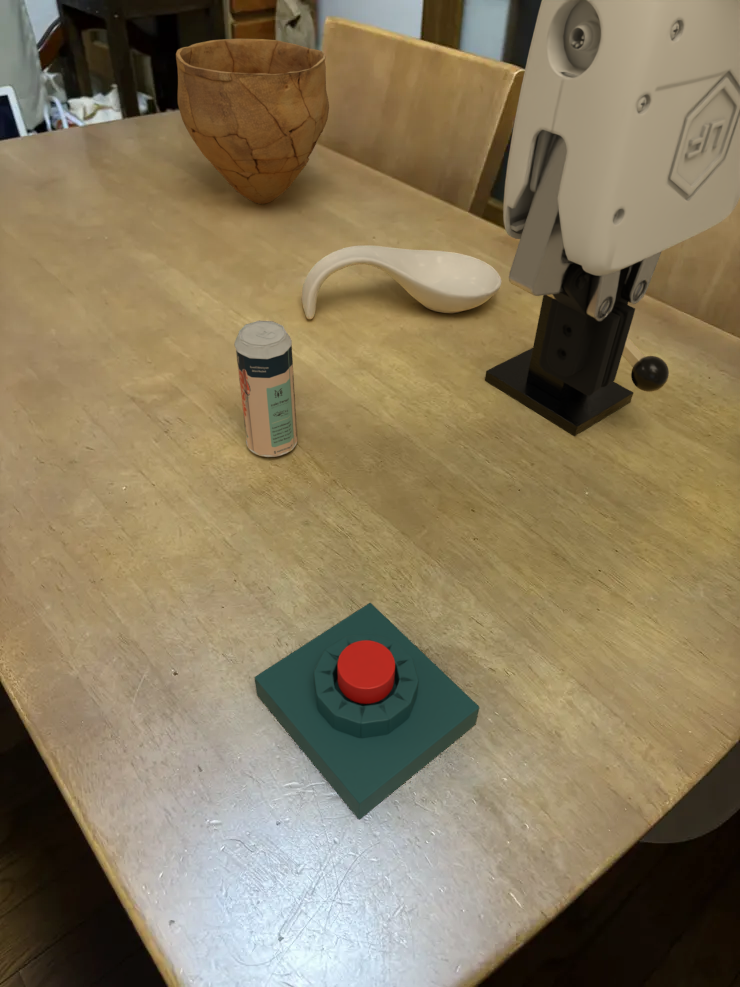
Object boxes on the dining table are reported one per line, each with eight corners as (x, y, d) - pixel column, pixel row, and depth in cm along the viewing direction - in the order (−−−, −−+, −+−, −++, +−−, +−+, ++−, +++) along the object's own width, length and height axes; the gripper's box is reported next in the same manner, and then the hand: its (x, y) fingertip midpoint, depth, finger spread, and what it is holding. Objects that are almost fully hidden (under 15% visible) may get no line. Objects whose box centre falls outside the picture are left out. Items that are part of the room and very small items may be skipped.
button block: (476, 724, 50) (483, 691, 47) (359, 820, 45) (359, 789, 42) (369, 620, 56) (370, 585, 53) (256, 695, 51) (251, 660, 48)
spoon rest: (479, 275, 96) (486, 220, 91) (511, 321, 88) (521, 263, 83) (296, 290, 92) (293, 234, 87) (311, 340, 84) (309, 281, 79)
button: (405, 683, 48) (407, 667, 47) (362, 715, 46) (362, 699, 45) (369, 646, 50) (370, 630, 49) (326, 675, 48) (325, 660, 47)
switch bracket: (630, 402, 77) (667, 287, 68) (574, 436, 72) (605, 318, 64) (540, 351, 83) (563, 240, 75) (484, 380, 79) (501, 266, 70)
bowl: (207, 174, 120) (190, 29, 106) (334, 178, 119) (333, 34, 106) (178, 229, 104) (153, 68, 91) (323, 234, 104) (320, 74, 91)
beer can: (261, 424, 73) (250, 313, 65) (306, 436, 72) (300, 324, 63) (237, 453, 69) (222, 340, 61) (283, 466, 68) (275, 353, 60)
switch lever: (661, 390, 70) (682, 370, 67) (640, 403, 68) (662, 383, 66) (571, 290, 73) (588, 266, 70) (550, 300, 71) (566, 276, 69)
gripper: (662, -108, 17) (529, 485, 30) (930, -127, 24) (732, 357, 37) (436, -132, 21) (403, 397, 34) (722, -142, 28) (607, 297, 41)
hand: (575, 375), depth 35 cm, fingers closed
